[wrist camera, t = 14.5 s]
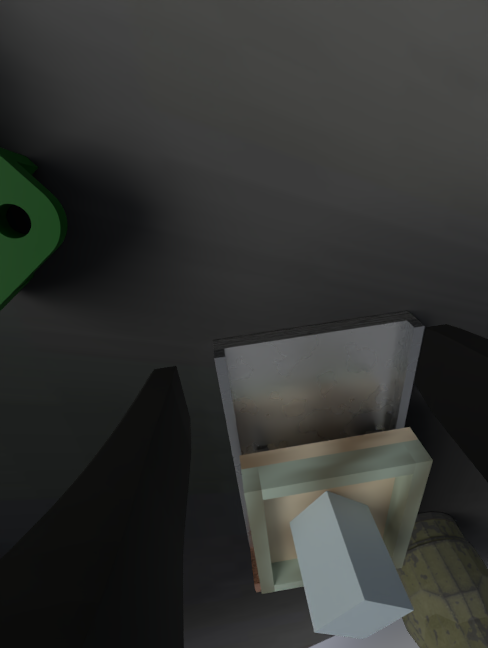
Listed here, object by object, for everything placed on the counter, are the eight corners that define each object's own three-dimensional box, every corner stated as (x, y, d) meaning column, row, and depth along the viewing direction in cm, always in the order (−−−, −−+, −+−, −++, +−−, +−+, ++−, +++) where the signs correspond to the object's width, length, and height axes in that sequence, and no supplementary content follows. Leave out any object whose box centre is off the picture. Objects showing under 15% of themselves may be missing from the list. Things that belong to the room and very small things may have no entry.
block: (367, 505, 24) (414, 610, 19) (330, 534, 25) (364, 639, 20) (326, 490, 22) (364, 600, 17) (289, 522, 24) (314, 632, 19)
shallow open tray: (394, 405, 23) (433, 460, 19) (376, 511, 30) (401, 567, 26) (236, 431, 23) (244, 493, 19) (253, 533, 29) (262, 593, 26)
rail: (407, 310, 21) (456, 353, 17) (373, 512, 32) (397, 565, 28) (213, 340, 20) (216, 391, 16) (249, 535, 31) (255, 592, 27)
